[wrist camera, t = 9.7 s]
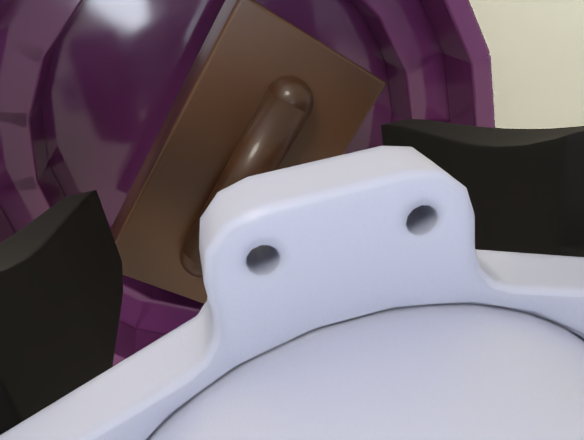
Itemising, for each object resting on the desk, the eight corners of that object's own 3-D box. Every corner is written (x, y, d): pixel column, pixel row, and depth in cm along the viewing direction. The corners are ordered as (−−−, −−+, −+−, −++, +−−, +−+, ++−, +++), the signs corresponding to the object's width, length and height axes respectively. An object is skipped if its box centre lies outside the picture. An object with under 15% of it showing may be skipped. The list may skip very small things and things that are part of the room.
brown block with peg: (223, -17, 16) (246, -6, 12) (345, 58, 18) (401, 91, 14) (111, 210, 18) (97, 286, 14) (228, 257, 20) (246, 337, 16)
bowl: (512, 89, 20) (586, 119, 17) (260, 369, 23) (278, 444, 20) (170, -274, 14) (174, -352, 10) (-114, 180, 17) (-185, 240, 13)
